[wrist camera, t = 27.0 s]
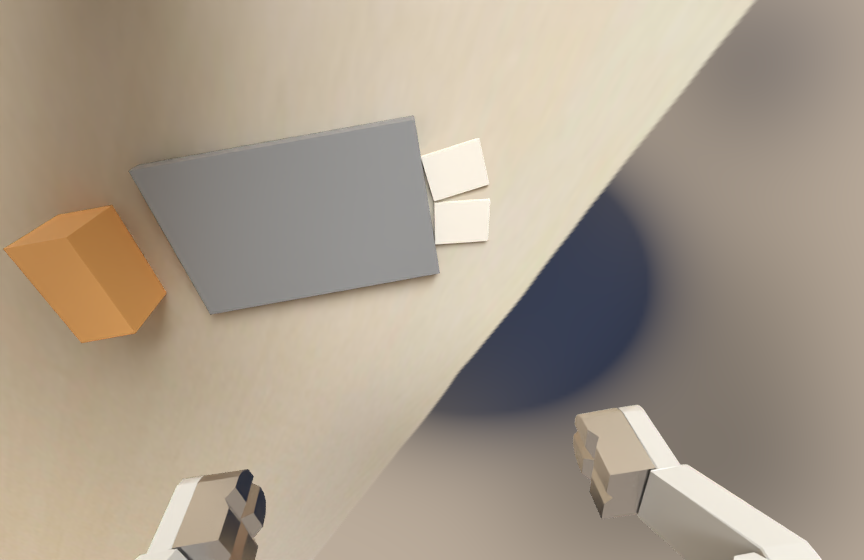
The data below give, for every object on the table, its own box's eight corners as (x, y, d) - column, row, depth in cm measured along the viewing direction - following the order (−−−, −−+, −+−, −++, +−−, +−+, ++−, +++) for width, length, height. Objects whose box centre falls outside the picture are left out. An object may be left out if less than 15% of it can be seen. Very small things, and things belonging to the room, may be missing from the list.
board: (215, 305, 40) (210, 314, 39) (138, 164, 32) (128, 171, 31) (437, 265, 40) (439, 273, 39) (413, 115, 32) (414, 119, 31)
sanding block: (167, 292, 39) (135, 333, 34) (120, 300, 39) (81, 343, 34) (112, 204, 34) (66, 237, 29) (58, 214, 34) (3, 248, 29)
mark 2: (434, 239, 39) (435, 244, 38) (433, 199, 37) (434, 204, 36) (485, 236, 40) (488, 240, 39) (487, 196, 37) (490, 200, 37)
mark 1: (433, 197, 37) (434, 201, 36) (420, 154, 35) (420, 157, 34) (486, 180, 37) (489, 184, 36) (477, 136, 34) (479, 139, 34)
